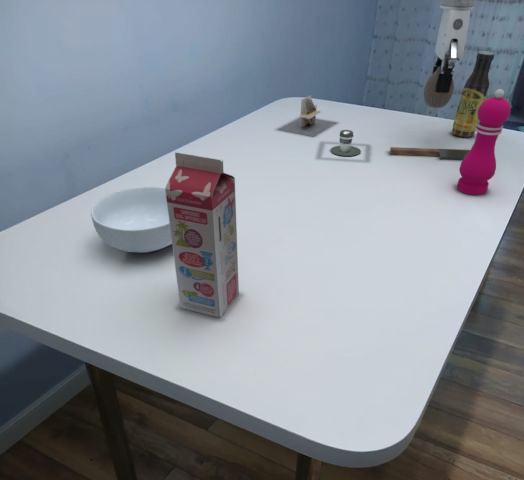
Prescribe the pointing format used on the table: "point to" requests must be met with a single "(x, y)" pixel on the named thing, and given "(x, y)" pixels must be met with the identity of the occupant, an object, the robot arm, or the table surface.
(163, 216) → the cereal bowl
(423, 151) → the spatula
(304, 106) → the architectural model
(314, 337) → the table surface
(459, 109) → the sauce bottle
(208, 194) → the juice carton
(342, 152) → the grey round knobbed disc
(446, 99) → the vase
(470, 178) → the pepper mill
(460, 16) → the robot arm
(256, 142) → the table surface
